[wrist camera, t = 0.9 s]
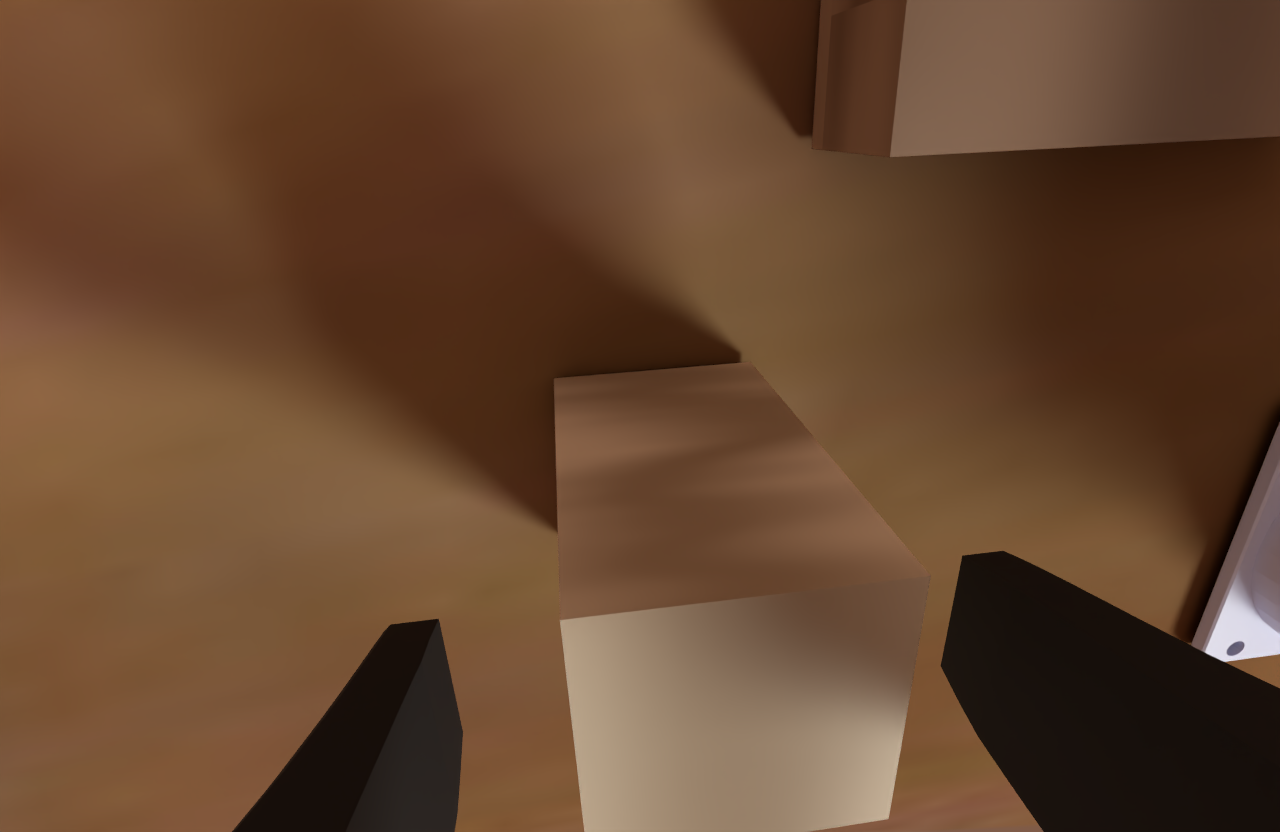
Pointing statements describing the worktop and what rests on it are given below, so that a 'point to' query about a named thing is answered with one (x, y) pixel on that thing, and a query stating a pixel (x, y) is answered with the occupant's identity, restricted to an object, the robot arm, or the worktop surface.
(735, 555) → the birch post
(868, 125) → the walnut holder
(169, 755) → the worktop surface
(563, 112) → the worktop surface
